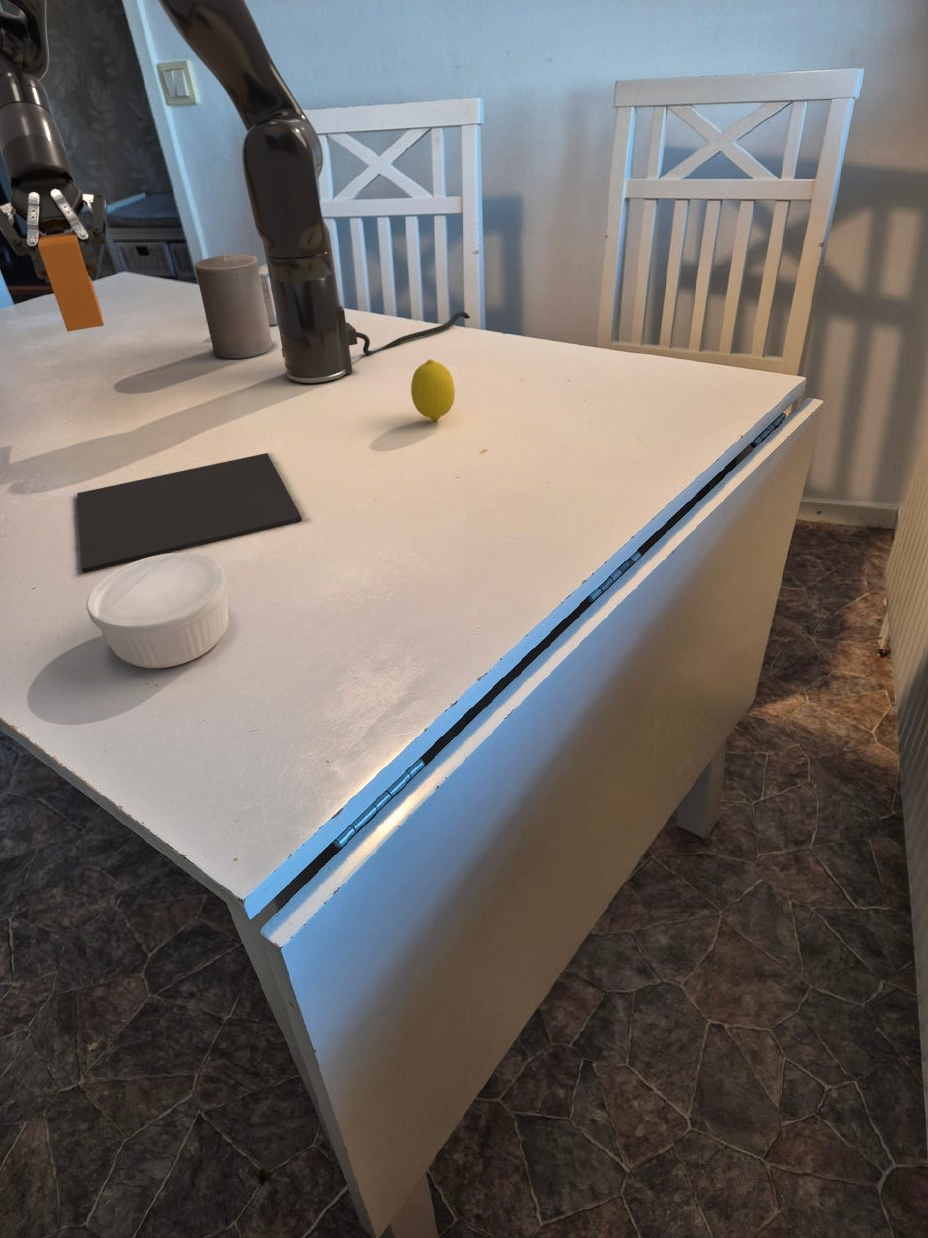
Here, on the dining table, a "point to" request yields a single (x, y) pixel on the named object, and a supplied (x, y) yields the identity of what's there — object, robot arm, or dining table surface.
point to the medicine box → (268, 294)
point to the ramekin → (162, 609)
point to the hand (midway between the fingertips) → (69, 275)
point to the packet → (70, 281)
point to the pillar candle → (234, 305)
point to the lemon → (432, 390)
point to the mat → (181, 511)
